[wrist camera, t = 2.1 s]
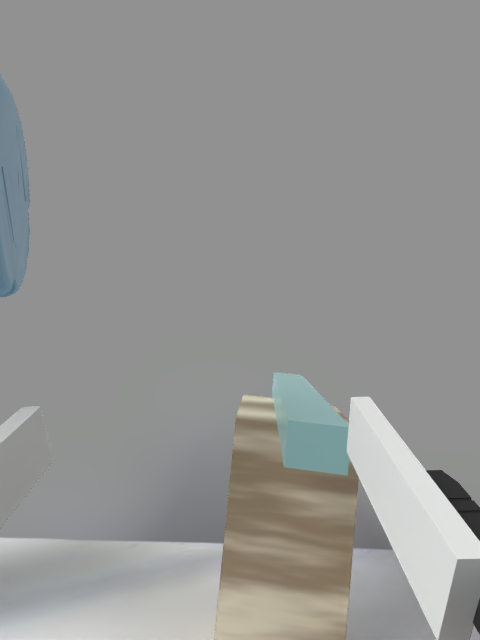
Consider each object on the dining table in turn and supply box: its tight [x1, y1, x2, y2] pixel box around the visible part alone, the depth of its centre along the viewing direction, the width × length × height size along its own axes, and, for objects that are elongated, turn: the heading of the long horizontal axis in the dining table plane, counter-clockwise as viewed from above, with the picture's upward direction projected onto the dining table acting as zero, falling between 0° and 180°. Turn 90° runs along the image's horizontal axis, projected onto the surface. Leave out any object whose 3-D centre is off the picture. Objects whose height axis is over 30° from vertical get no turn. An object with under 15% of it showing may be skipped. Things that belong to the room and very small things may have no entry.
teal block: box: [272, 372, 349, 476], centre depth 33 cm, size 26×4×3 cm, turn 176°
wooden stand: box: [214, 395, 359, 640], centre depth 35 cm, size 12×12×30 cm
